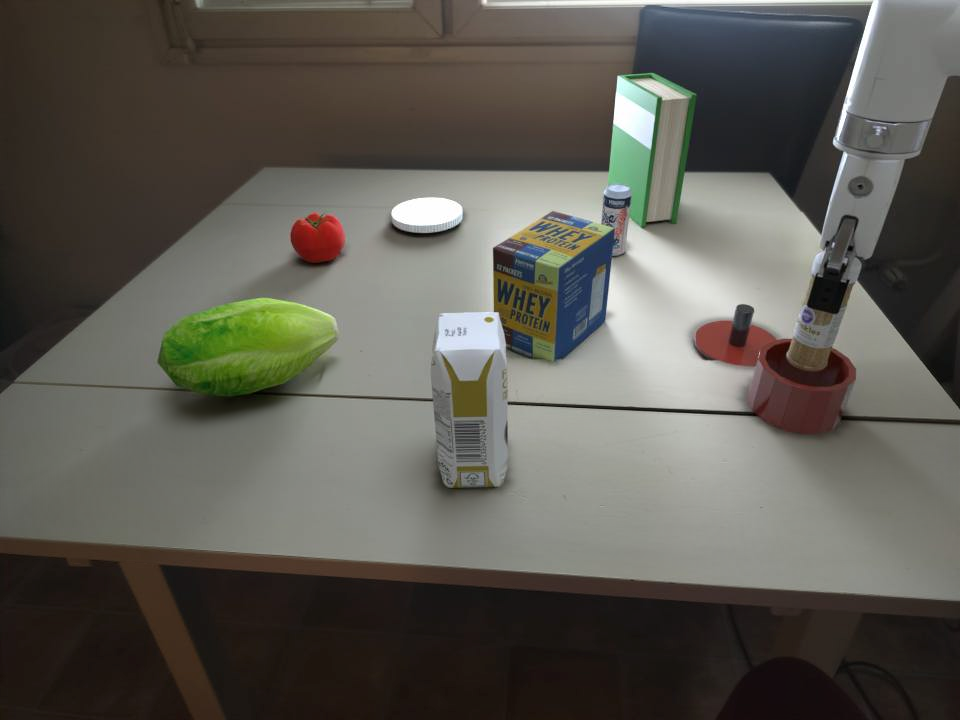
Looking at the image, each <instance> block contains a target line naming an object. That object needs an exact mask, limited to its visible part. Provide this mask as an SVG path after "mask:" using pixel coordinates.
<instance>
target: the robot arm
mask: <svg viewBox="0 0 960 720" xmlns="http://www.w3.org/2000/svg"><path fill="white" fill-rule="evenodd" d="M855 59H856V60H855V62H854V67H853V70H852V74H851V78H850V81H849V85H848V87H847V88H848V89H847V92H846V95H845V98H844V101H843V102H844V103H843V106H842V109H841V112H840V116H839V119H838V123H837V126H836V130H835V134H834V137H833V140H832V145H833V146H834V147H835V148H836V149H838V150H839V151H842V152H843V154H842V157H841V160H840V163H839V167H838V170H837V174H836V176H835V181H834V183H833V188H832V192H831V194H830V198H829V203H828V206H827V209H826V214H825V218H824V222H823V227H822V231H821V235H820V240H819V244H818V246H819V248H820V249H821V250H822V251H823V252H825V254H824V257H823V260H822V263H821V266H820V270H819V273H816V276H815V279H814V282H813V286H812V289H811V292H810V296H809V299H808V302H807V307H808V308H811V309H815V310H819V311H823V312H828V313H832V314H838V313H839V311H840V308H841V305H842V302H843V299H844V296H845V293H846V290H847V287H848V284H849V281H850V280H848V279H847V278H848V275H849V272H850V269H851V266H852V264H853V261H854V258H855V257H856V258H857V257H859V258H862V260H864V261H865V260H868V259H870V258H871V257H872V256H873V254H874V251H875V249H876V247H877V244H878V241H879V239H880V235H881V232H882V231H883V228H884V225H885V221H886V219H887V215H888V213H889V211H890V208H891V205H892V202H893V199H894V196H895V194H896V190H897V189H898V188H897V187H898V184H899V182H900V178H901V175H902V172H903V168H904V164H905V161H906V160H908V159H912V158H915V157H918V156H919V155H920V154H921V151H922V149H923V146H924V143H925V141H926V138H927V135H928V132H929V130H930V127H931V124H932V121H933V120H934V119H933V118H934V115H935V112H936V110H937V107H938V104H939V101H940V99H941V96H942V93H943V90H944V88H945V85H946V82H947V79H948V78H949V77H951V76H952V77H953V76H956V77H960V0H873V1H872V3H871V7H870V10H869V13H868V16H867V20H866V24H865V27H864V31H863V33H862V38H861V42H860V45H859V48H858V52H857V56H856V58H855ZM830 255H831V256H830ZM829 258H830V259H829ZM844 258H848V260H847V263H843V261H844ZM845 264H846V265H845Z"/></svg>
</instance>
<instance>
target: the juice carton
mask: <svg viewBox="0 0 960 720" xmlns="http://www.w3.org/2000/svg"><path fill="white" fill-rule="evenodd" d="M432 340H433V341H432V355H431V361H430V382H431V393H432V405H433V416H434V429H435V441H436V452H437V462H438V463H437V464H438V470H439V474H440V476H441V480H442V482H443V484H444V485H445V486H446V487H447V488H449V489H451V488H452V489H459V488H464V489H465V488H498V487H500V486H502V485H503V484H504V482H505V478H506V475H507V471H508V465H509V462H508V461H509V460H508V459H509V439H508V438H509V437H508V436H509V431H508V430H509V424H508V423H509V422H508V420H509V419H508V417H509V411H508V409H509V408H508V407H509V406H508V405H509V403H508V398H509V396H508V395H509V393H508V391H509V389H508V388H509V385H508V384H509V383H508V360H507V348H506V341H505V336H504V332H503V328H502V325H501V321H500V318H499V312H494V311H484V312H481V311H478V312H477V311H475V312H474V311H473V312H470V311H469V312H443V313H437V320H436V326H435V329H434V334H433V339H432Z"/></svg>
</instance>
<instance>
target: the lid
mask: <svg viewBox="0 0 960 720" xmlns="http://www.w3.org/2000/svg"><path fill="white" fill-rule="evenodd" d="M754 315H755V308H754V307H753V306H752V305H749V304H744V303H740V304H738V305H736V306H735V310H734V314H733V319H732V320H715V321H711V322H708V323H705V324H703V325H701V326H700V327H698V329H697V330H696V331H695V333H694V337H693V342H694V346H695V348H696V349H697V350H698V351H699V352H700V354H701V355H703V356H704V357H706V358H707V359H708V360H710V361H718V362H722V363H725V364H729V365H734V366H741V367H756V363H757V359H758V355H759V352H760V349H761V348H762V347H763V346H765V345H766V344H767V343H769V342H772V341H776V340H778V338H776V337H775V335H773V334H772V333H771V332H769V331H768V330H766V329H764V328H762V327H760V326H758V325H755V324H752V323H753V318H754Z"/></svg>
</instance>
